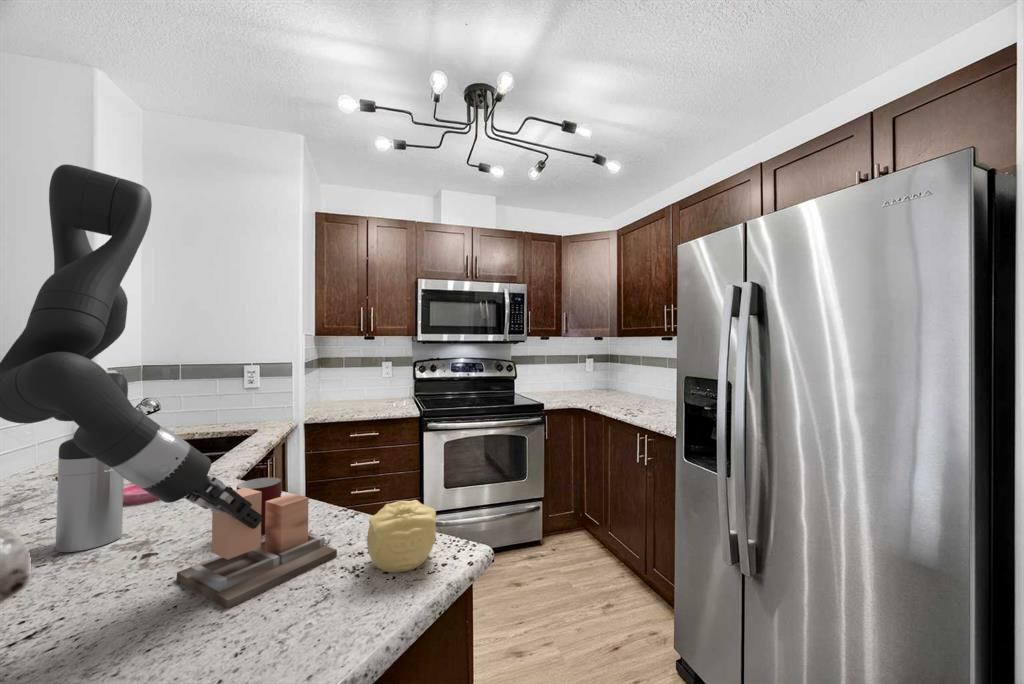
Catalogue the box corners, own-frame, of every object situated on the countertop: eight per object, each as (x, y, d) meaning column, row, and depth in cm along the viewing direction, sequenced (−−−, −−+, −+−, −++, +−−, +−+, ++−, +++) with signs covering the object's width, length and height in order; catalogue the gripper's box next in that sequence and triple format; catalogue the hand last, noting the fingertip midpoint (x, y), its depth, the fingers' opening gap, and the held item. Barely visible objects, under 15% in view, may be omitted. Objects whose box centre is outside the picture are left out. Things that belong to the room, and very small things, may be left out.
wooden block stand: (176, 579, 67) (178, 516, 68) (284, 538, 83) (285, 486, 83) (227, 609, 59) (229, 536, 60) (336, 556, 75) (337, 499, 75)
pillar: (211, 552, 67) (212, 495, 67) (244, 540, 71) (245, 487, 72) (227, 559, 64) (228, 500, 65) (260, 547, 69) (261, 491, 69)
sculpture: (370, 588, 65) (370, 517, 65) (364, 555, 76) (364, 495, 76) (442, 572, 69) (442, 506, 70) (427, 543, 80) (427, 486, 81)
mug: (229, 548, 79) (230, 494, 79) (215, 537, 84) (216, 487, 84) (287, 530, 87) (288, 481, 87) (271, 520, 92) (272, 475, 92)
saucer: (189, 492, 113) (189, 480, 113) (139, 508, 101) (139, 495, 101) (154, 489, 116) (154, 478, 116) (101, 505, 104) (101, 492, 104)
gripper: (208, 445, 59) (290, 506, 68) (163, 437, 66) (243, 493, 76) (161, 494, 54) (256, 552, 64) (118, 480, 61) (209, 533, 71)
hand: (248, 519), depth 70 cm, fingers closed on pillar, 5 cm apart
